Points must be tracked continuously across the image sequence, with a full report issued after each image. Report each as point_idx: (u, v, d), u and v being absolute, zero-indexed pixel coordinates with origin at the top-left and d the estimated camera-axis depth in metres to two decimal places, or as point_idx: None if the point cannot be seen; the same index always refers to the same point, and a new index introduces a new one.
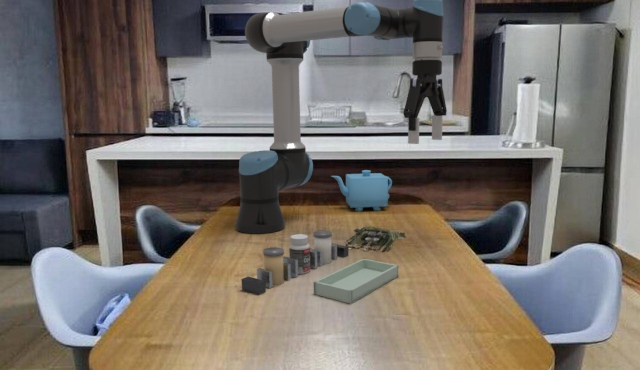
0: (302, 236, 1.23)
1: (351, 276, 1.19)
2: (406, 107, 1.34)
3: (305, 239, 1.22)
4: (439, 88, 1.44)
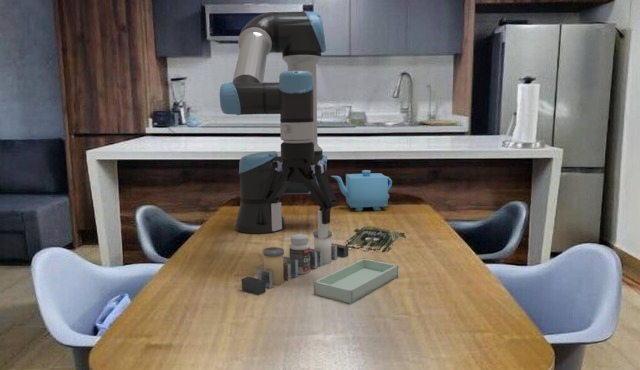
0: (302, 236, 1.23)
1: (351, 276, 1.19)
2: None
3: (305, 239, 1.22)
4: None
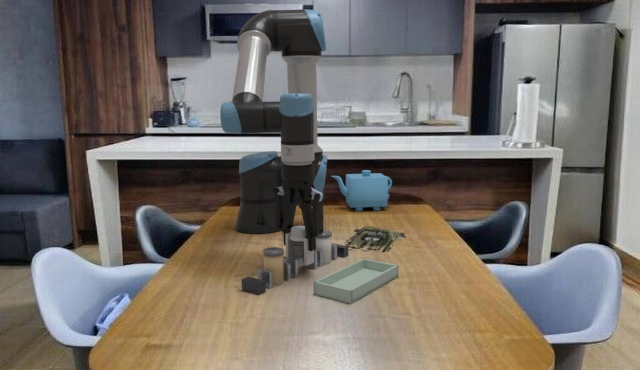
0: (302, 227, 1.23)
1: (351, 276, 1.19)
2: None
3: None
4: None
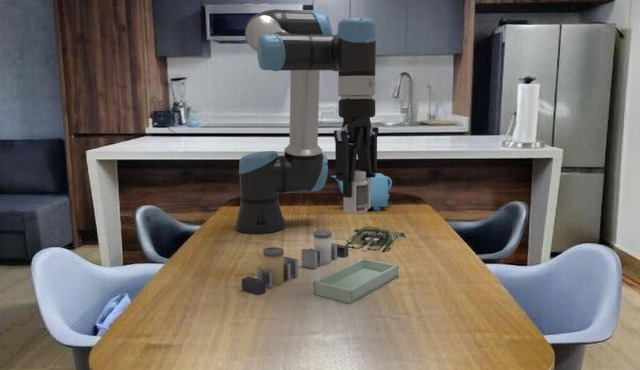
0: (356, 171, 1.12)
1: (351, 276, 1.19)
2: (337, 170, 1.07)
3: None
4: (373, 137, 1.13)
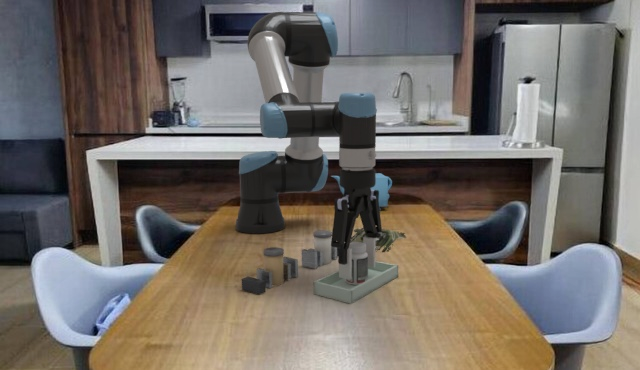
0: (356, 243, 1.15)
1: None
2: (333, 238, 1.08)
3: None
4: (374, 201, 1.16)
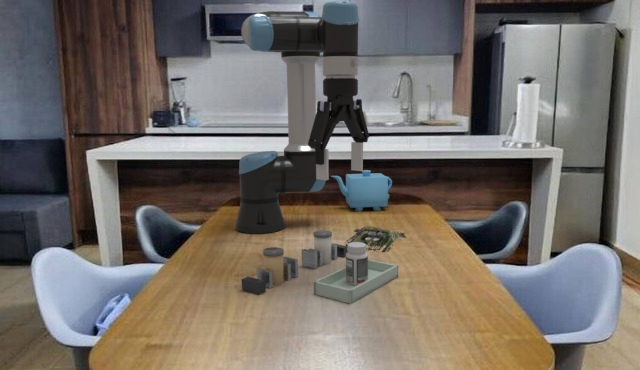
0: (356, 243, 1.15)
1: None
2: (311, 136, 1.10)
3: None
4: (358, 110, 1.20)
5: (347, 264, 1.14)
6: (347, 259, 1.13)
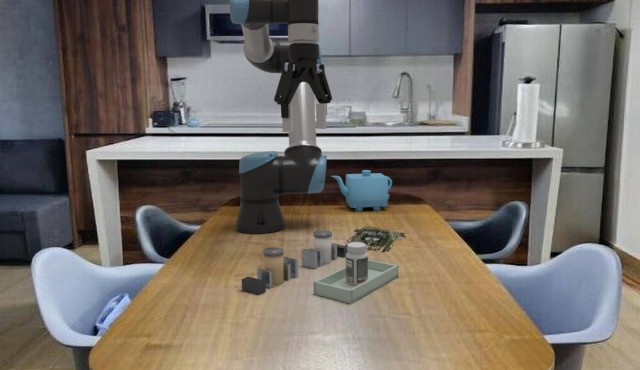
0: (356, 243, 1.15)
1: None
2: (277, 93, 1.26)
3: None
4: (321, 74, 1.36)
5: (347, 264, 1.14)
6: (347, 259, 1.13)
